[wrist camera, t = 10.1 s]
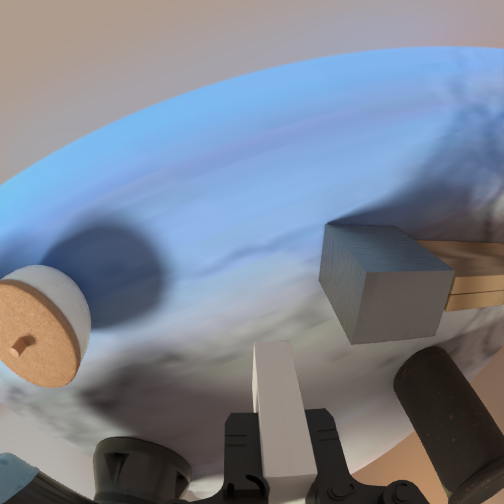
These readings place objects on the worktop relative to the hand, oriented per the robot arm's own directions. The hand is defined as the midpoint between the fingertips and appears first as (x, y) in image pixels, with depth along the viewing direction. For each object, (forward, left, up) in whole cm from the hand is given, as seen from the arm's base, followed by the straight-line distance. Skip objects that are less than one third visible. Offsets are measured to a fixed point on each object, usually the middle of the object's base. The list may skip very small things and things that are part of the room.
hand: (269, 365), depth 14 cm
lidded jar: (-14, +14, -15) cm, 25 cm away
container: (-3, -27, -15) cm, 31 cm away
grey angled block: (+4, -8, -14) cm, 17 cm away
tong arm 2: (+12, -20, -14) cm, 27 cm away
